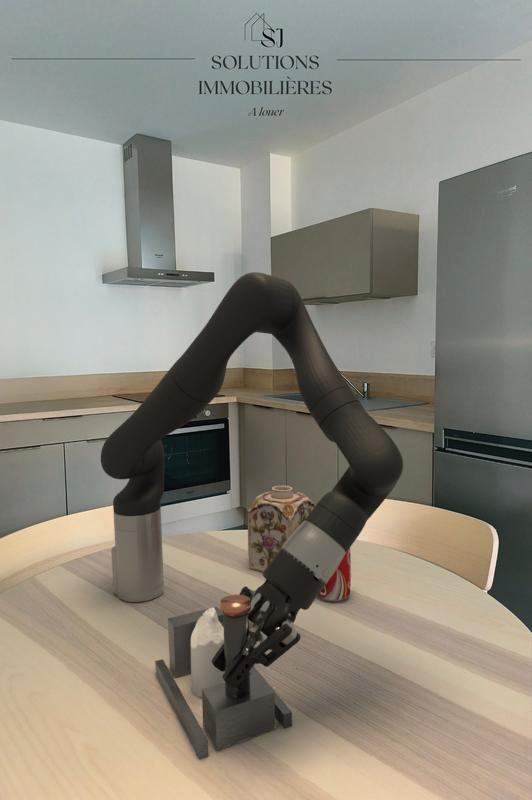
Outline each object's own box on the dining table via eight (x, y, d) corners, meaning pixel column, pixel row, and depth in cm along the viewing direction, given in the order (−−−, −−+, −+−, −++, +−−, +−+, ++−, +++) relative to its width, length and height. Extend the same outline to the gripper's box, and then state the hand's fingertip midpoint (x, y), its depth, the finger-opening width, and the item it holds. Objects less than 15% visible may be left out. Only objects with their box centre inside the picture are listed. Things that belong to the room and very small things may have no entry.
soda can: (349, 605, 106) (349, 544, 105) (312, 602, 108) (312, 542, 106) (351, 589, 113) (351, 531, 112) (316, 587, 114) (316, 530, 113)
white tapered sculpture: (181, 605, 82) (216, 595, 84) (184, 683, 83) (218, 670, 86) (199, 621, 76) (235, 610, 79) (202, 704, 78) (237, 690, 81)
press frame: (154, 671, 86) (152, 621, 85) (231, 650, 91) (230, 603, 90) (199, 759, 67) (197, 696, 66) (292, 726, 73) (291, 667, 72)
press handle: (203, 725, 73) (198, 600, 71) (258, 707, 76) (255, 587, 75) (216, 750, 68) (212, 616, 67) (275, 729, 72) (272, 602, 70)
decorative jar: (247, 569, 124) (245, 489, 123) (276, 552, 134) (274, 479, 132) (292, 581, 118) (291, 497, 116) (320, 563, 127) (319, 485, 125)
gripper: (263, 532, 80) (184, 635, 76) (314, 566, 67) (222, 691, 63) (296, 561, 83) (221, 662, 78) (351, 599, 70) (266, 721, 66)
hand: (222, 674), depth 71 cm, fingers closed on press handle, 3 cm apart
